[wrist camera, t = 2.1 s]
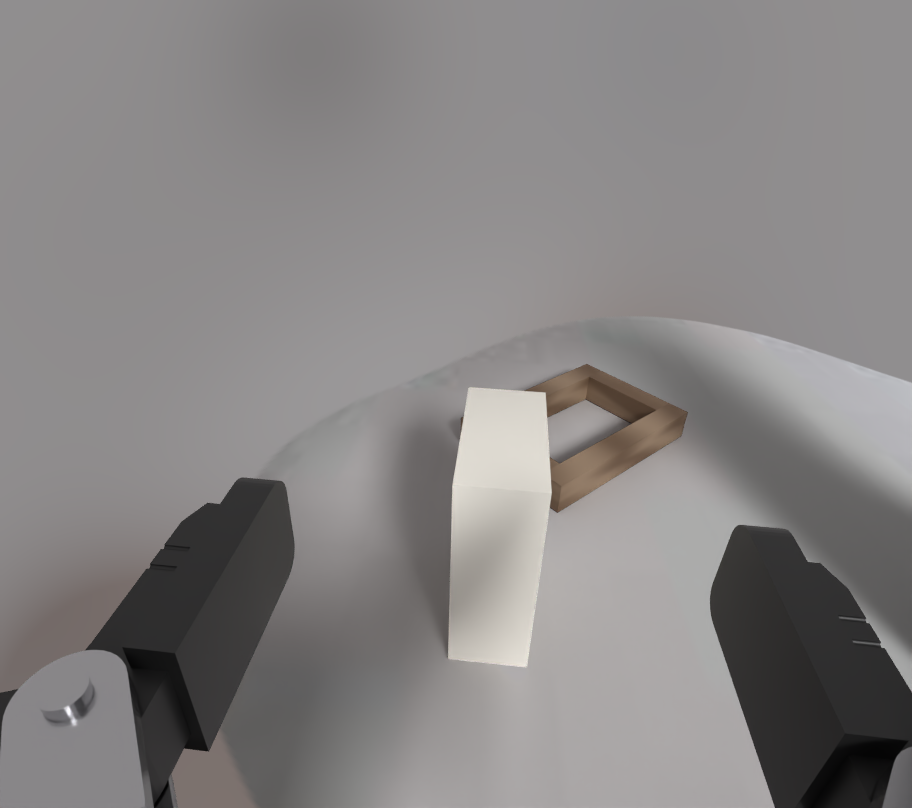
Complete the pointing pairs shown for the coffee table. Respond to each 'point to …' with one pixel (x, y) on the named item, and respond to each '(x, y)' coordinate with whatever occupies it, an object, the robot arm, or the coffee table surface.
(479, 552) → the key block
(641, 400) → the frame
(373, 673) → the coffee table surface
